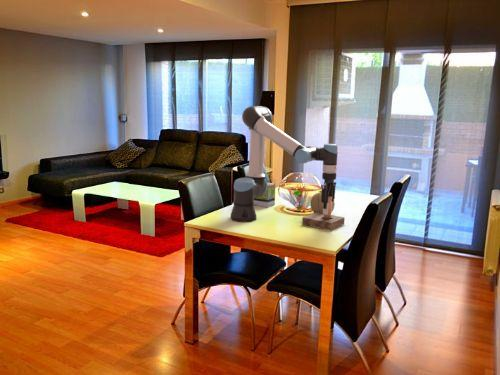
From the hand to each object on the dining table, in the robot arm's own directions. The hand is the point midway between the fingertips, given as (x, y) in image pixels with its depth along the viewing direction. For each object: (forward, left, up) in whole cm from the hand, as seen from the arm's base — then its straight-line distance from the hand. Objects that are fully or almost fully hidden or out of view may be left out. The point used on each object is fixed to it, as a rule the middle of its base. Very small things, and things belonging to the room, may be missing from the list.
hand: (327, 213), depth 242 cm
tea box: (-56, +15, -7) cm, 59 cm away
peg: (0, 0, -3) cm, 3 cm away
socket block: (-2, 0, -7) cm, 7 cm away
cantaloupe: (-12, +17, -7) cm, 22 cm away
